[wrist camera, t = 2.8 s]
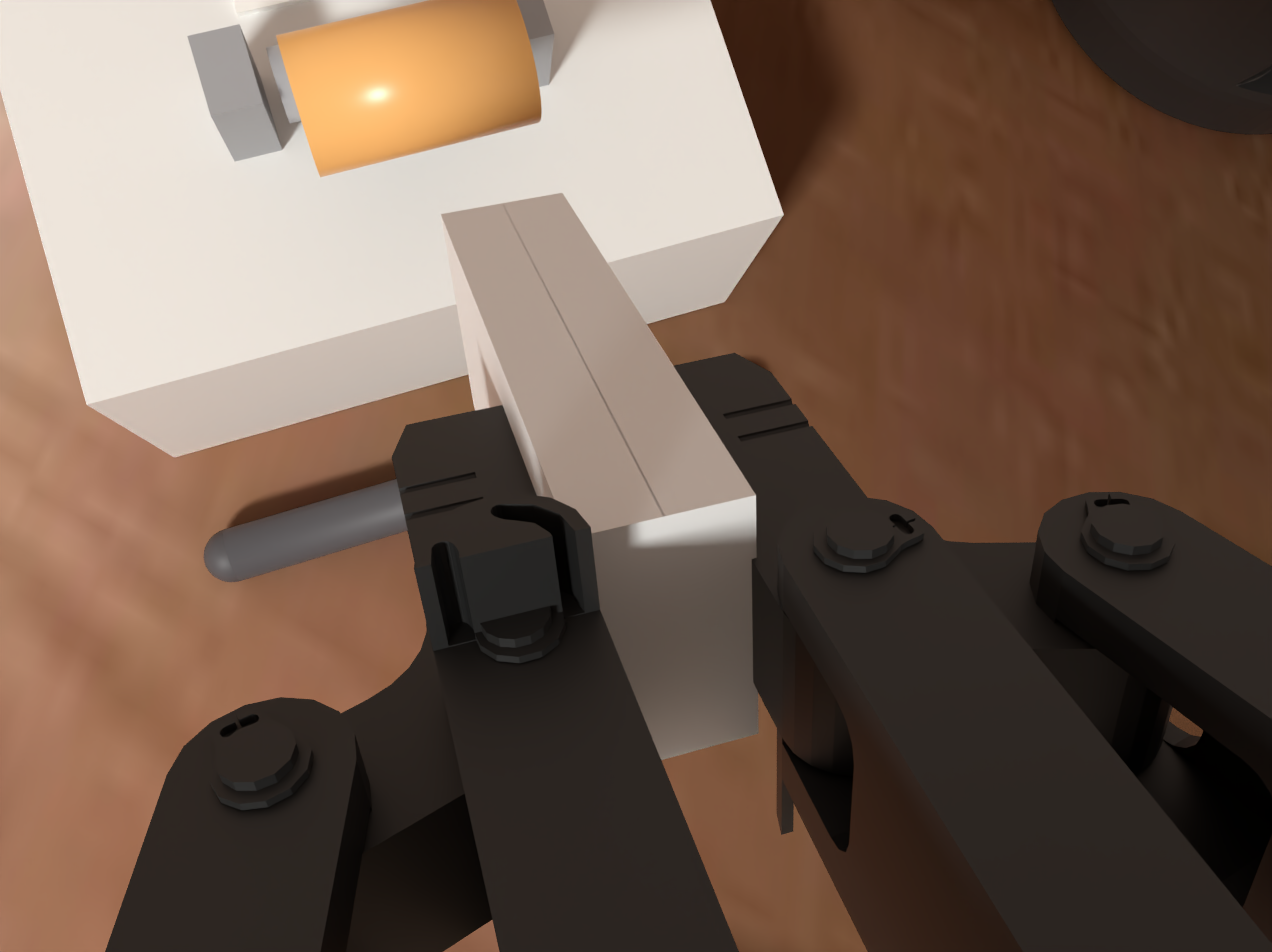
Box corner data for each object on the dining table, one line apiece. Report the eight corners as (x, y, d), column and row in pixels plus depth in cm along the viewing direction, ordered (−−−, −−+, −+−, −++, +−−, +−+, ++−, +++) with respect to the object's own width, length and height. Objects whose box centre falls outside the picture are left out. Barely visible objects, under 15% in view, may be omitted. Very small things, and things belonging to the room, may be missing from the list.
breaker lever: (460, -12, 30) (545, -26, 20) (485, 85, 31) (577, 121, 21) (263, 33, 29) (244, 44, 19) (294, 132, 30) (291, 193, 20)
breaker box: (614, -28, 40) (657, -264, 30) (765, 425, 39) (867, 343, 28) (73, 97, 37) (-88, -115, 27) (212, 592, 36) (97, 569, 25)
